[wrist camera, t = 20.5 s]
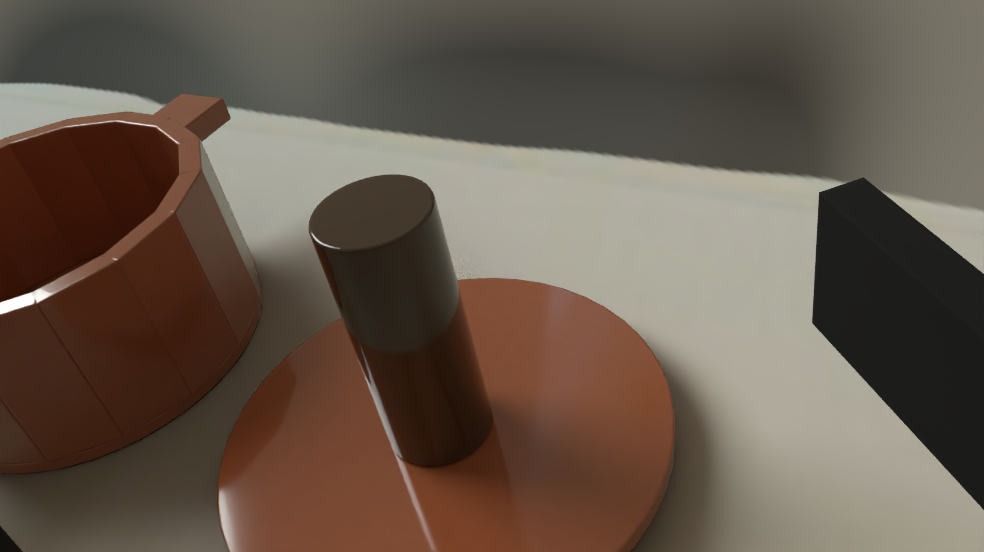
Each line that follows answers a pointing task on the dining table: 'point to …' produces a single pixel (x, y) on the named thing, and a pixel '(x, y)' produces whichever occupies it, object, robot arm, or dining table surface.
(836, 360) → the dining table surface
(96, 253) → the cooking pot
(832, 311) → the robot arm
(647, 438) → the lid
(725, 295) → the dining table surface
